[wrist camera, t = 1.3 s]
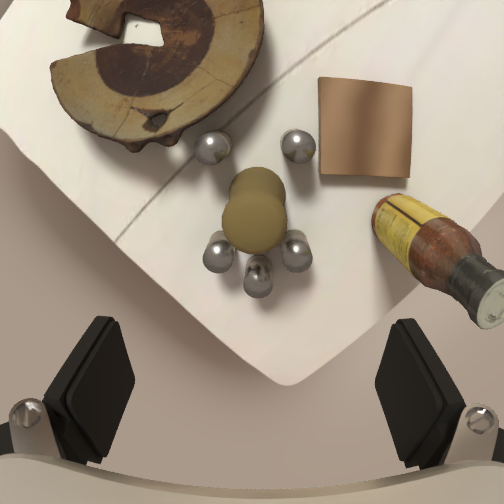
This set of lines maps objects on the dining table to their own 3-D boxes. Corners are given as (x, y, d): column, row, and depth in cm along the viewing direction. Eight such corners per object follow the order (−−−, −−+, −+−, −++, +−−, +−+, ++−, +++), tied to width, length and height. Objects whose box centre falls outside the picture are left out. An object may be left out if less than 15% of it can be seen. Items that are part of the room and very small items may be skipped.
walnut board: (406, 87, 28) (412, 87, 27) (404, 175, 32) (409, 177, 31) (317, 78, 28) (320, 76, 27) (318, 171, 32) (320, 173, 31)
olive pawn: (267, 230, 35) (268, 278, 25) (219, 204, 34) (200, 243, 24) (296, 184, 33) (310, 215, 23) (245, 156, 32) (237, 174, 22)
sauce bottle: (386, 251, 36) (466, 364, 18) (359, 212, 34) (443, 312, 16) (427, 219, 34) (531, 309, 16) (403, 178, 32) (519, 247, 14)
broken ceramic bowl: (54, 128, 31) (15, 135, 24) (127, -79, 19) (104, -105, 12) (227, 167, 33) (216, 180, 26) (304, -64, 21) (312, -98, 14)
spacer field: (309, 129, 31) (315, 130, 27) (305, 277, 38) (310, 297, 33) (202, 131, 31) (192, 133, 27) (212, 278, 38) (206, 297, 34)
